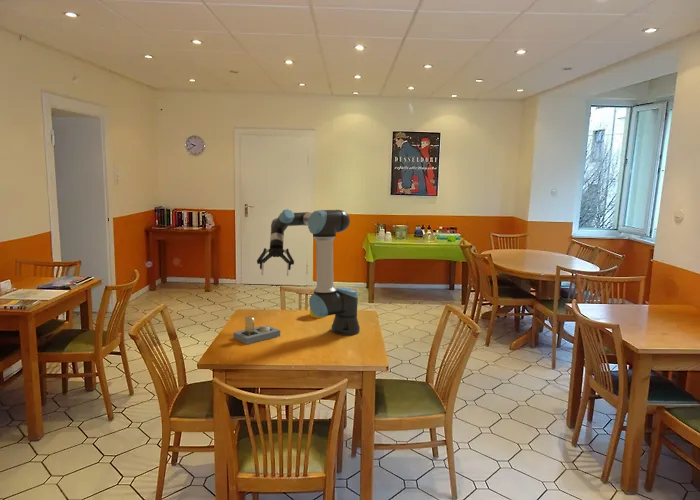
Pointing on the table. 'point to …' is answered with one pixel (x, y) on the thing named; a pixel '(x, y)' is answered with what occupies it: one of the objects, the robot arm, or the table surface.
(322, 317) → the tape roll
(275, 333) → the jig plate
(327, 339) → the table surface
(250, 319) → the brass cylinder
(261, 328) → the wooden plug
